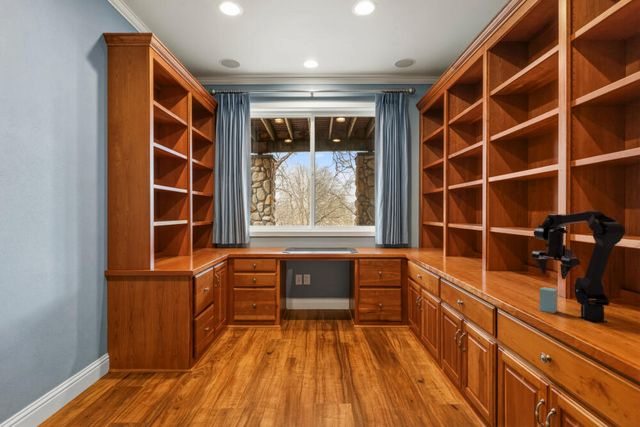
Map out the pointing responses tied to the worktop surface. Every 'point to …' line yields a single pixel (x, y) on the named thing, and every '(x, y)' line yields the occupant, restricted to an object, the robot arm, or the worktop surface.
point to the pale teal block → (548, 300)
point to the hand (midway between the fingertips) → (553, 276)
